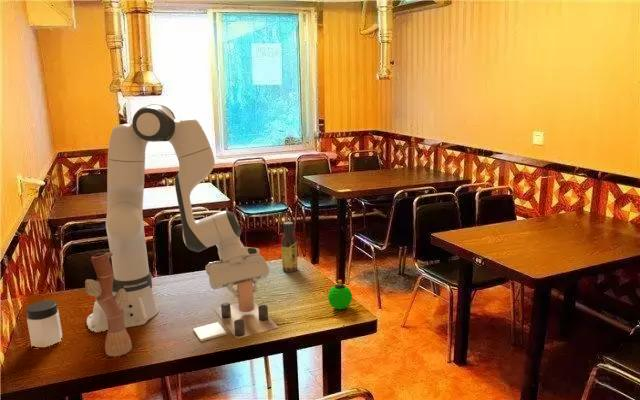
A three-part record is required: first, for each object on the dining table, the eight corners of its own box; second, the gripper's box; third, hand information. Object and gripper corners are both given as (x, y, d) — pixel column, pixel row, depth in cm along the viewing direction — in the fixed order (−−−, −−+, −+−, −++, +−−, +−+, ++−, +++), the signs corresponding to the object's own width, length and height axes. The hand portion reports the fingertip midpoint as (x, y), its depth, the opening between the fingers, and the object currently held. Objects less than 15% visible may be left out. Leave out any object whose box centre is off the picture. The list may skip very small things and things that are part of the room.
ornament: (349, 314, 167) (348, 286, 165) (325, 312, 170) (324, 284, 167) (354, 304, 175) (354, 277, 173) (332, 302, 177) (331, 275, 175)
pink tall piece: (133, 341, 154) (121, 247, 147) (134, 352, 148) (122, 254, 141) (95, 349, 151) (81, 252, 144) (95, 361, 144) (80, 260, 137)
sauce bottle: (295, 273, 205) (293, 225, 201) (280, 272, 206) (278, 225, 202) (299, 267, 211) (297, 221, 207) (285, 266, 213) (282, 220, 208)
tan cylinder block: (242, 313, 166) (240, 287, 164) (236, 307, 170) (234, 282, 168) (256, 309, 168) (254, 284, 166) (250, 304, 172) (248, 279, 170)
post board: (235, 340, 154) (234, 325, 153) (214, 310, 175) (212, 297, 174) (278, 329, 160) (278, 315, 159) (252, 301, 181) (251, 288, 180)
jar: (56, 332, 161) (51, 297, 159) (68, 340, 156) (62, 304, 153) (26, 344, 155) (19, 307, 152) (37, 352, 150) (31, 314, 147)
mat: (200, 341, 153) (200, 339, 153) (193, 330, 160) (193, 328, 159) (226, 334, 157) (226, 332, 156) (218, 324, 163) (217, 322, 163)
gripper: (205, 259, 166) (217, 297, 160) (263, 247, 176) (276, 283, 170) (202, 268, 171) (213, 305, 165) (258, 256, 180) (271, 291, 174)
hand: (246, 294), depth 167 cm, fingers closed on tan cylinder block, 5 cm apart
